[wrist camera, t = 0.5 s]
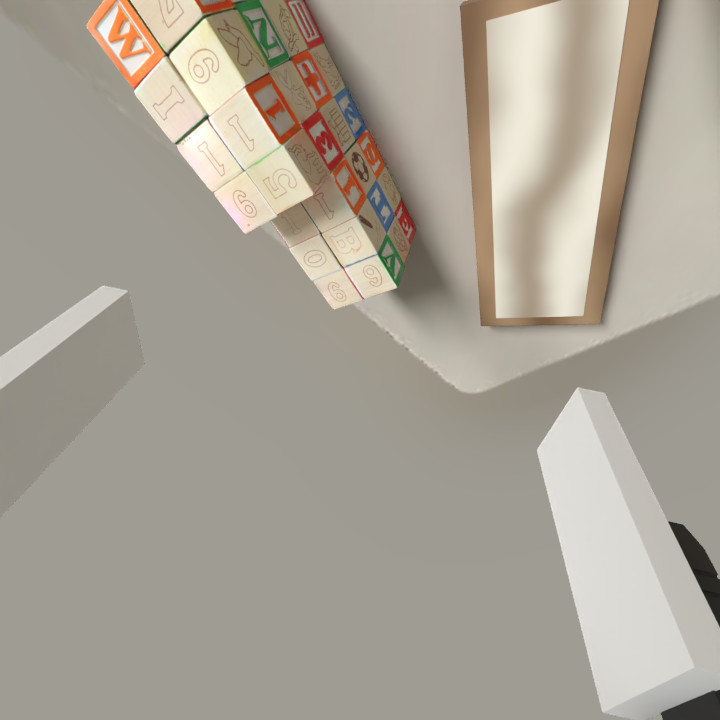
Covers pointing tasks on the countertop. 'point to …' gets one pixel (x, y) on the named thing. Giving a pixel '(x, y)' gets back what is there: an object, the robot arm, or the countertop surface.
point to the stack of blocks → (267, 130)
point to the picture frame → (550, 148)
